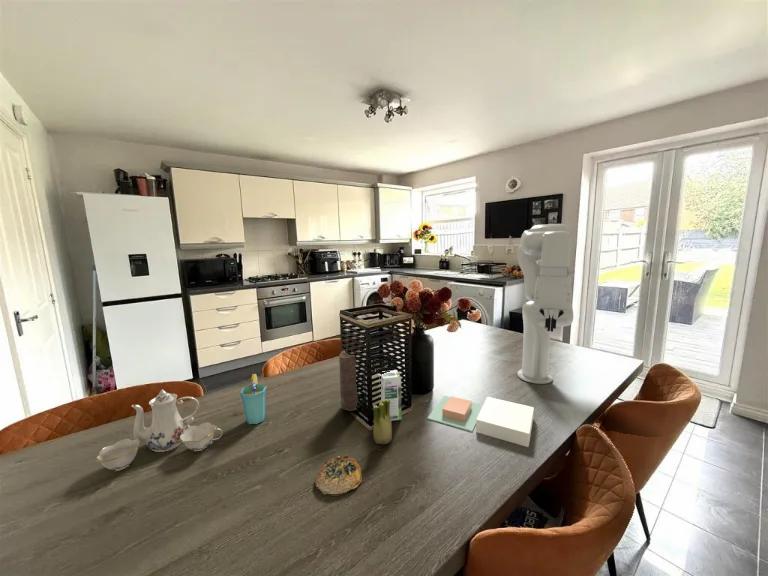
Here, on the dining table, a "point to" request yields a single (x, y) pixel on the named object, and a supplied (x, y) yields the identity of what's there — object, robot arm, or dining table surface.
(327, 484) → the bread roll
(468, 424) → the mat
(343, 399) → the candle
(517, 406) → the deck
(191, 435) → the chinaware
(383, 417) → the fennel bulb
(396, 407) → the syrup box
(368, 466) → the dining table surface
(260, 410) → the cup
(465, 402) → the tile
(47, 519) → the dining table surface
